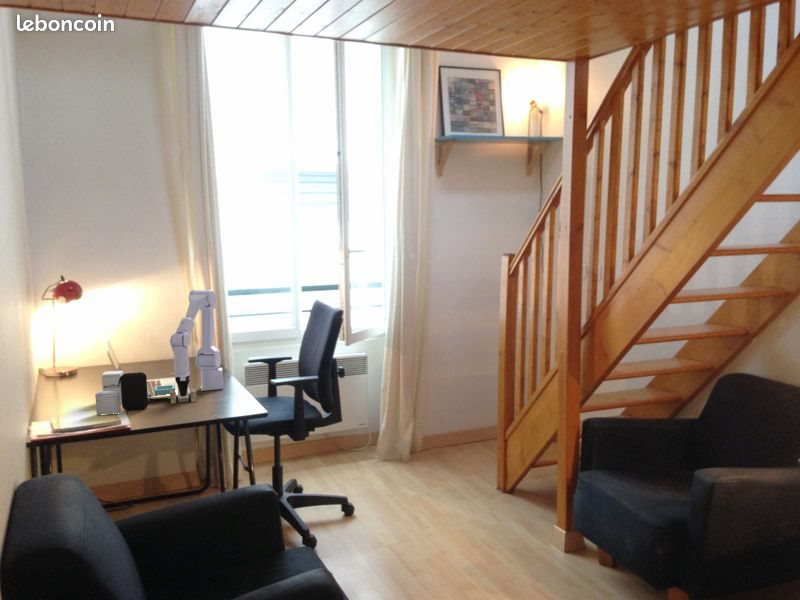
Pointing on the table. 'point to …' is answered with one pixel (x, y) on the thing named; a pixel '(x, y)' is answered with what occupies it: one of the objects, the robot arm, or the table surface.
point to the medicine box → (108, 402)
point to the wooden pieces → (173, 395)
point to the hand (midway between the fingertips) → (183, 394)
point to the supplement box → (112, 381)
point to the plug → (183, 398)
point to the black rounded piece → (134, 391)
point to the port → (163, 389)
